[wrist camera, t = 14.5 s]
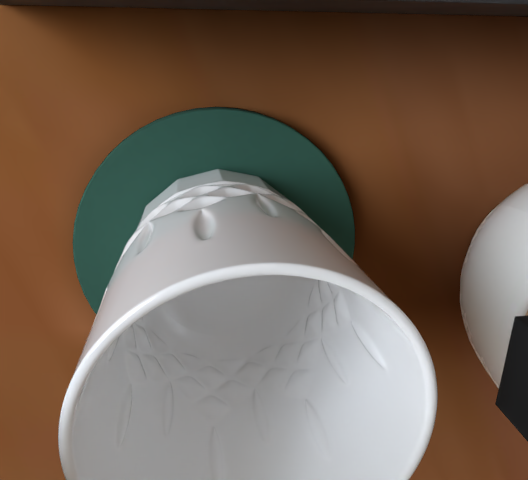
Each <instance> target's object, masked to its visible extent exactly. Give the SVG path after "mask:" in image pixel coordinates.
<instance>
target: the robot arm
mask: <svg viewBox="0 0 528 480" xmlns="http://www.w3.org/2000/svg"><path fill="white" fill-rule="evenodd" d="M496 405H497V407H498V408H499V409H500V410H501V411H502V412H503V413H504V415H505V416H506V417H507V418H508V419H509V420H510V422H511V423H512V424H513V425H514V426H515V427H516V428H517V430H518V431H519V432H520V433H521V434H522V435H523V437H524V438H525V439H526V440H527V441H528V316H515V318H514V323H513V327H512V332H511V336H510V341H509V345H508V350H507V354H506V359H505V363H504V368H503V372H502V377H501V381H500V386H499V390H498V395H497V399H496Z"/></svg>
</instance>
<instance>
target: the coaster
mask: <svg viewBox="0 0 528 480" xmlns="http://www.w3.org/2000/svg"><path fill="white" fill-rule="evenodd" d="M215 169H222V170H227V171H232V172H238V173H243V174H248V175H253V176H258V177H260V178H261V179H262V180H264V181H265V182H266V183H268V184H269V185H270V186H271V187H273V188H274V189H275V190H277V191H278V192H279V193H281V194H282V195H283V196H285V197H286V198H287V199H289V200H290V201H291V202H293V203H294V204H295V205H296V206H298V207H299V208H300V209H301V210H302V211H303V212H304V213H305V214H306V215H307V216H308V217H310V218H311V219H312V220H313V221H314V222H315V223H316V224H317V225H318V226H319V227H320V228H321V229H322V230H323V231H325V232H326V233H327V234H328V235H329V236H330V237H331V238H332V239H333V240H334V241H335V242H336V243H337V244H338V245H339V246H340V247H341V248H342V249H343V250H344V251H345V252H346V253H347V254H348V255H349V257H350V258H351V259H353V252H354V246H355V226H354V218H353V211H352V207H351V203H350V200H349V196H348V194H347V191H346V189H345V187H344V184H343V182H342V180H341V178H340V176H339V175H338V173H337V171H336V170H335V168H334V166H333V165H332V164H331V162H330V161H329V160H328V159H327V158H326V156H325V155H324V154H323V153H322V151H320V150H319V149H318V148H317V147H316V146H315V145H314V144H313V143H312V142H311V141H310V140H309V139H307V138H306V137H304V136H303V135H302V134H300V133H299V132H297V131H296V130H294V129H293V128H291V127H290V126H288V125H286V124H284V123H282V122H280V121H278V120H276V119H274V118H272V117H269V116H266V115H263V114H260V113H257V112H253V111H248V110H243V109H238V108H226V107H208V108H196V109H191V110H186V111H182V112H177V113H174V114H171V115H168V116H166V117H163V118H160V119H157V120H155V121H153V122H151V123H150V124H148V125H146V126H144V127H142V128H140V129H138V130H137V131H136V132H134V133H133V134H131V135H130V136H129V137H127V138H126V139H124V140H123V141H122V142H121V143H120V144H119V145H118V146H117V147H116V148H115V149H114V150H113V151H112V152H110V153H109V155H108V156H107V157H106V158H105V160H104V161H103V162H102V163H101V165H100V166H99V167H98V168H97V170H96V172H95V173H94V175H93V177H92V178H91V180H90V182H89V184H88V185H87V187H86V189H85V191H84V194H83V196H82V199H81V201H80V204H79V207H78V211H77V215H76V219H75V223H74V234H73V252H74V262H75V267H76V272H77V276H78V279H79V282H80V285H81V287H82V290H83V293H84V295H85V297H86V298H87V300H88V302H89V304H90V306H91V308H92V309H93V311H94V312H95V313H96V315H97V313H98V310H99V307H100V304H101V302H102V299H103V296H104V293H105V290H106V288H107V285H108V283H109V281H110V279H111V277H112V275H113V273H114V270H115V268H116V265H117V263H118V261H119V259H120V257H121V255H122V253H123V250H124V248H125V246H126V244H127V242H128V240H129V239H130V238H131V236H132V235H133V234H134V232H135V230H136V228H137V226H138V223H139V221H140V219H141V216H142V214H143V211H144V209H145V207H146V205H147V204H149V203H150V202H151V201H152V200H153V199H155V198H156V197H157V196H158V195H159V194H160V193H162V192H163V191H164V190H165V189H166V188H168V187H169V186H170V185H171V184H172V183H174V182H175V181H176V180H177V179H180V178H184V177H188V176H192V175H196V174H200V173H203V172H207V171H211V170H215Z"/></svg>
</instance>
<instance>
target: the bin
mask: <svg viewBox="0 0 528 480" xmlns="http://www.w3.org/2000/svg"><path fill="white" fill-rule="evenodd" d="M0 5H41V6H86V7H131V8H175V9H220V10H264V11H309V12H354V13H398V14H443V15H487V16H528V0H0Z"/></svg>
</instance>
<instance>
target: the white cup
mask: <svg viewBox="0 0 528 480" xmlns="http://www.w3.org/2000/svg"><path fill="white" fill-rule="evenodd" d="M437 397H438V395H437V380H436V374H435V369H434V365H433V362H432V359H431V356H430V353H429V350H428V348H427V346H426V344H425V342H424V340H423V338H422V336H421V335H420V333H419V331H418V330H417V328H416V327H415V325H414V324H413V323H412V321H411V320H410V319H409V318H408V317H407V316H406V314H405V313H404V312H403V311H402V310H401V309H400V308H399V307H398V306H397V305H396V304H395V303H394V302H393V301H392V300H391V299H390V298H389V297H388V296H387V295H386V294H385V293H384V292H383V291H382V290H381V289H380V288H379V287H378V286H377V285H376V284H375V283H374V282H373V281H372V280H371V278H370V277H369V276H368V275H367V274H366V273H365V272H364V271H363V270H362V269H361V268H360V267H359V266H358V265H357V264H356V263H355V262H354V261H353V260H352V259H351V258H350V257H349V255H348V254H347V253H346V252H345V251H344V250H343V249H342V248H341V247H340V246H339V245H338V244H337V243H336V242H335V241H334V240H333V239H332V238H331V237H330V236H329V235H328V234H327V233H326V232H325V231H323V230H322V229H321V228H320V227H319V226H318V225H317V224H316V223H315V222H314V221H313V220H312V219H311V218H310V217H308V216H307V215H306V214H305V213H304V212H303V211H302V210H301V209H300V208H299V207H298V206H296V205H295V204H294V203H293V202H291V201H290V200H289V199H287V198H286V197H285V196H283V195H282V194H281V193H279V192H278V191H277V190H275V189H274V188H273V187H271V186H270V185H269V184H268V183H266V182H265V181H264V180H262V179H261V178H260V177H258V176H253V175H248V174H243V173H238V172H232V171H227V170H222V169H215V170H211V171H207V172H203V173H200V174H196V175H192V176H188V177H184V178H180V179H177V180H176V181H175V182H174V183H172V184H171V185H170V186H169V187H168V188H166V189H165V190H164V191H163V192H162V193H160V194H159V195H158V196H157V197H156V198H155V199H153V200H152V201H151V202H150V203H149V204H147V205H146V207H145V209H144V211H143V214H142V216H141V219H140V221H139V223H138V226H137V228H136V230H135V232H134V234H133V235H132V236H131V238H130V239H129V240H128V242H127V244H126V246H125V248H124V250H123V253H122V255H121V257H120V259H119V261H118V263H117V265H116V268H115V270H114V273H113V275H112V277H111V279H110V281H109V283H108V285H107V288H106V290H105V293H104V296H103V299H102V302H101V304H100V307H99V310H98V313H97V315H96V318H95V321H94V323H93V326H92V328H91V331H90V333H89V336H88V338H87V340H86V343H85V346H84V348H83V351H82V354H81V356H80V359H79V361H78V364H77V366H76V369H75V372H74V374H73V377H72V379H71V382H70V384H69V387H68V389H67V392H66V395H65V398H64V401H63V405H62V409H61V414H60V420H59V431H58V443H59V454H60V460H61V465H62V469H63V472H64V475H65V478H66V480H409V479H410V477H411V476H412V474H413V473H414V471H415V470H416V468H417V466H418V465H419V463H420V461H421V459H422V457H423V455H424V453H425V451H426V448H427V446H428V443H429V441H430V438H431V434H432V431H433V427H434V423H435V418H436V411H437Z"/></svg>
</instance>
